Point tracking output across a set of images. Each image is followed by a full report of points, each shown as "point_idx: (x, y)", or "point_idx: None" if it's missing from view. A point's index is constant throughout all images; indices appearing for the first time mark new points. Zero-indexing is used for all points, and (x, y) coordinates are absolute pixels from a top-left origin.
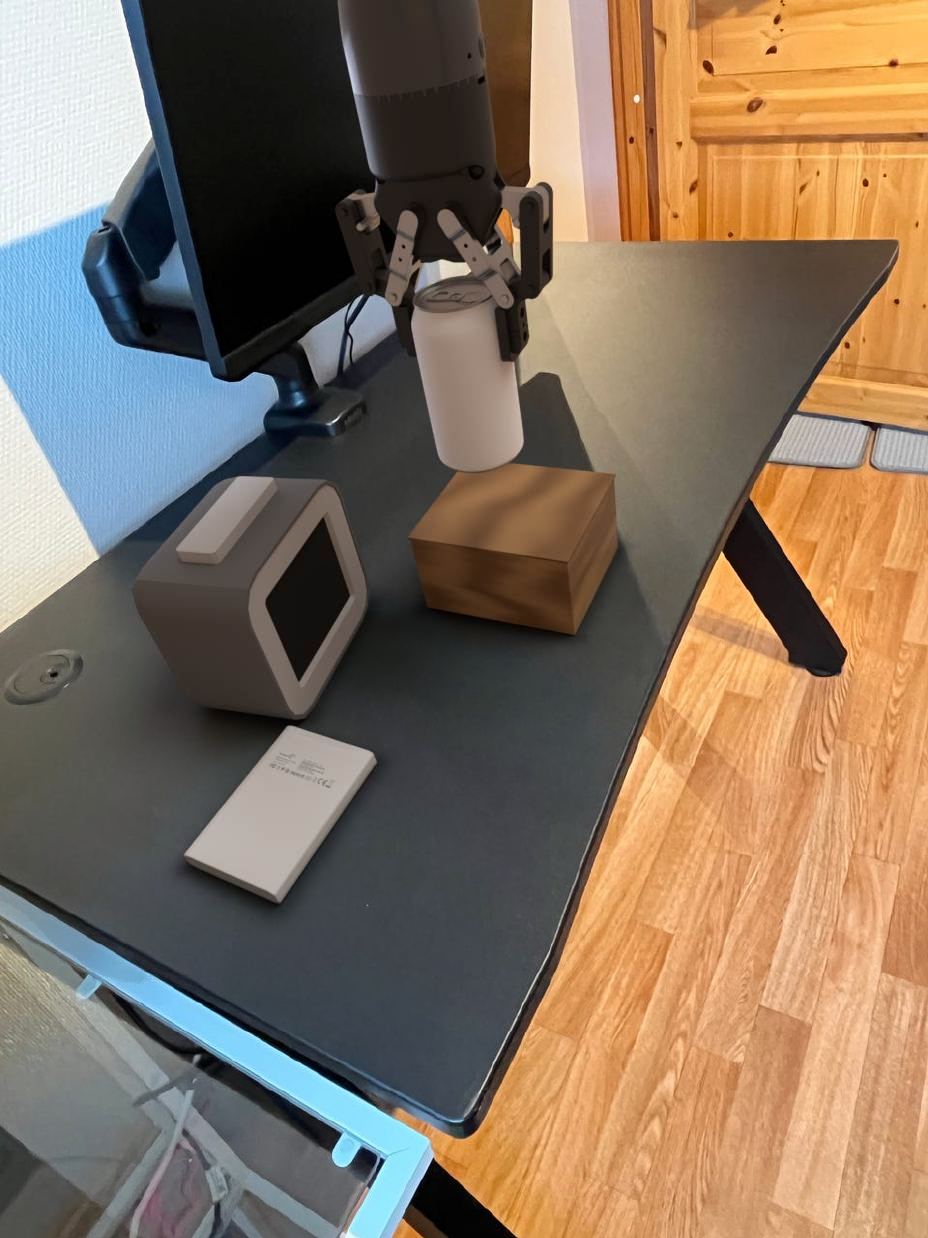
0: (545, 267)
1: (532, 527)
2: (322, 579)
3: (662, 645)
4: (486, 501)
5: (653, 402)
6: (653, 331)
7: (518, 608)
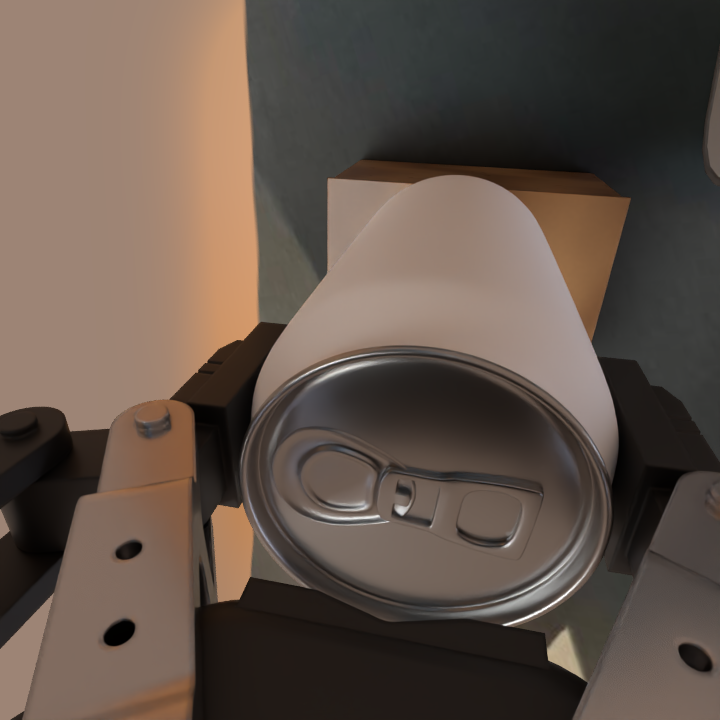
0: (13, 548)
1: None
2: None
3: (254, 165)
4: None
5: None
6: None
7: (435, 168)
